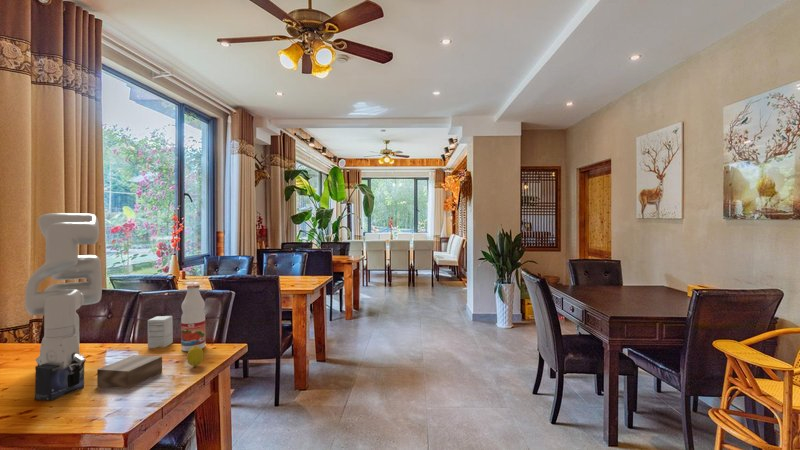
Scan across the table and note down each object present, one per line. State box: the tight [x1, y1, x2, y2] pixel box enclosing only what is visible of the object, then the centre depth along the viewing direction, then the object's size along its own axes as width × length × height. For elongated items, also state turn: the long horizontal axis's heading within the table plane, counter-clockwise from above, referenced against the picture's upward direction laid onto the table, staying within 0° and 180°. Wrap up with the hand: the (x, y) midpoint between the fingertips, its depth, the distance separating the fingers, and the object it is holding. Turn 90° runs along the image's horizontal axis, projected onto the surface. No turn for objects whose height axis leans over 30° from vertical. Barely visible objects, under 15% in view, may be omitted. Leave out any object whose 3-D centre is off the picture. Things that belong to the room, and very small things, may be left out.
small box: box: [33, 356, 86, 402], centre depth 118 cm, size 11×6×10 cm, turn 168°
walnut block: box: [96, 354, 163, 390], centre depth 129 cm, size 12×14×6 cm
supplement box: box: [147, 315, 174, 349], centre depth 166 cm, size 7×7×13 cm
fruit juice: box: [180, 283, 206, 352], centre depth 162 cm, size 9×9×28 cm
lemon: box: [186, 346, 205, 368], centre depth 140 cm, size 6×6×8 cm
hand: (60, 384), depth 118 cm, fingers open, 9 cm apart
